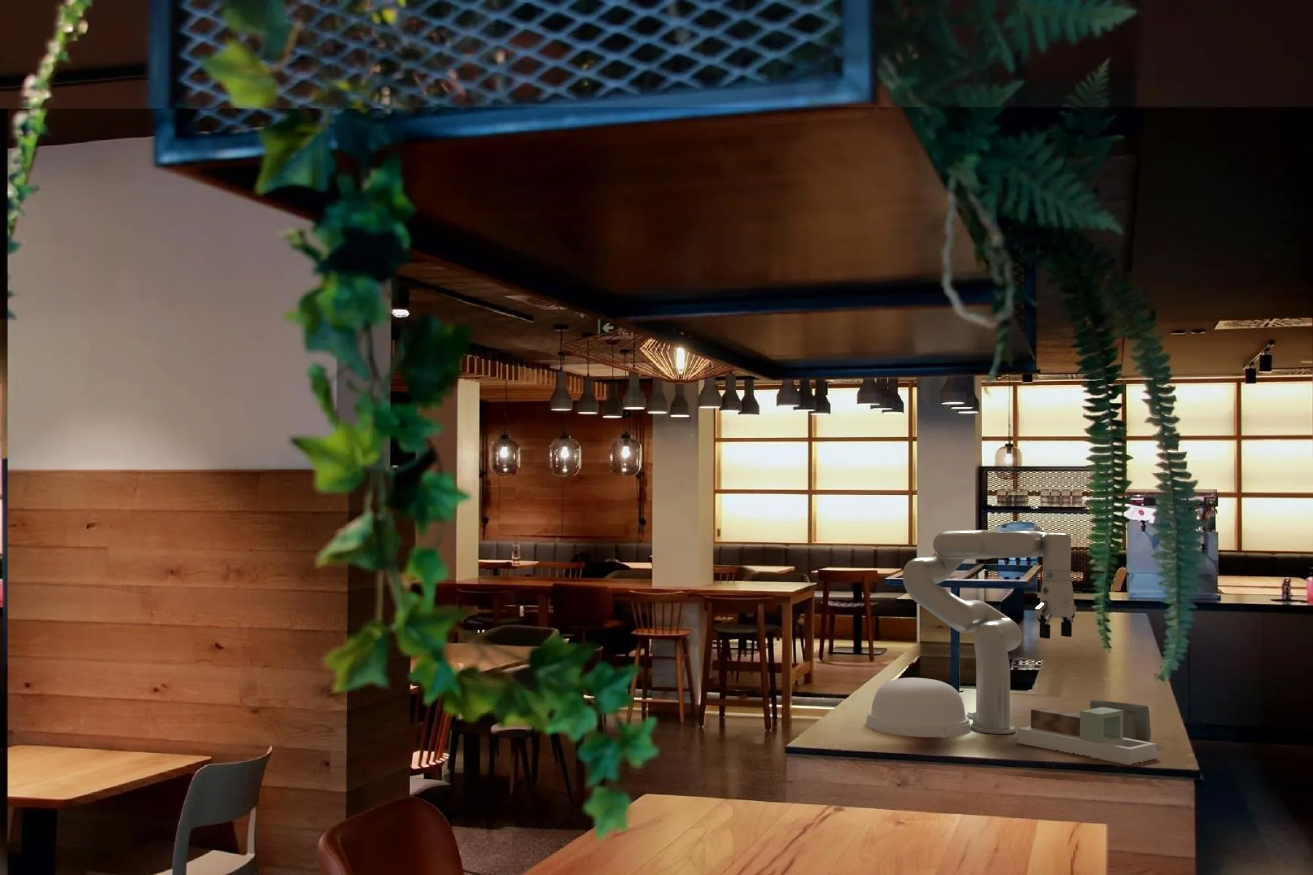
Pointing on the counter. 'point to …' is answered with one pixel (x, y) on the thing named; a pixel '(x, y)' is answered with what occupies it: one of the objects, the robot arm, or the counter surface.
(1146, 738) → the digital clock
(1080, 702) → the counter surface
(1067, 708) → the counter surface
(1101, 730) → the tunnel
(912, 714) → the dome cover
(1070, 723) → the walnut bar
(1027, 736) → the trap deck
